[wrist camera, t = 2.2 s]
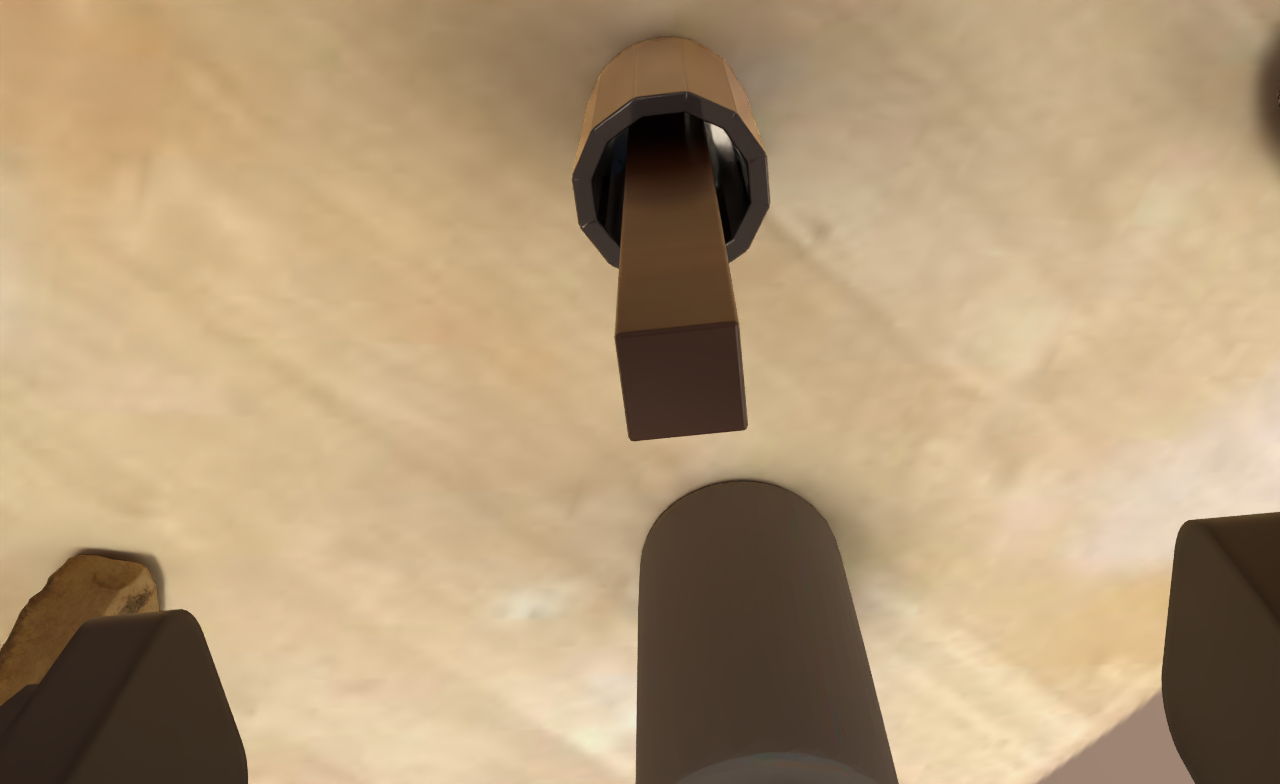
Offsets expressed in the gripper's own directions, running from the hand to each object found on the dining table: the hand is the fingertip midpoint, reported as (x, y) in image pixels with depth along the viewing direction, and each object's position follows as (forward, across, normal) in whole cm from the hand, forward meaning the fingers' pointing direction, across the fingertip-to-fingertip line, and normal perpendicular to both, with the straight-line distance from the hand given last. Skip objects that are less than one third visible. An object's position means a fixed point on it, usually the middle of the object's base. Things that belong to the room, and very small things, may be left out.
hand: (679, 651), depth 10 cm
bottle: (+21, -1, +14) cm, 25 cm away
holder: (+20, 0, 0) cm, 20 cm away
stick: (+20, 0, 0) cm, 20 cm away
